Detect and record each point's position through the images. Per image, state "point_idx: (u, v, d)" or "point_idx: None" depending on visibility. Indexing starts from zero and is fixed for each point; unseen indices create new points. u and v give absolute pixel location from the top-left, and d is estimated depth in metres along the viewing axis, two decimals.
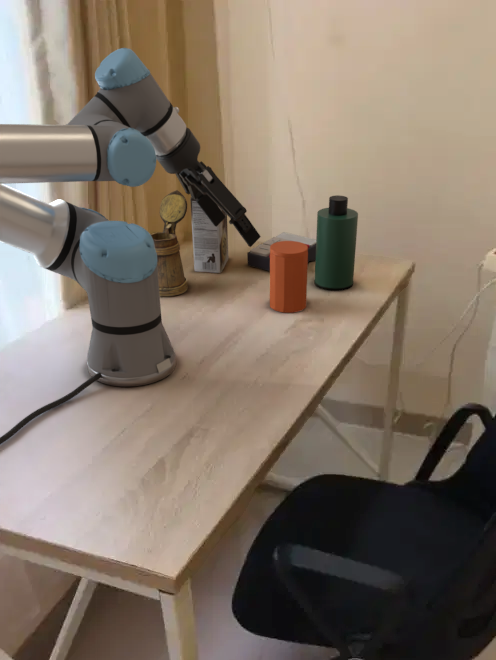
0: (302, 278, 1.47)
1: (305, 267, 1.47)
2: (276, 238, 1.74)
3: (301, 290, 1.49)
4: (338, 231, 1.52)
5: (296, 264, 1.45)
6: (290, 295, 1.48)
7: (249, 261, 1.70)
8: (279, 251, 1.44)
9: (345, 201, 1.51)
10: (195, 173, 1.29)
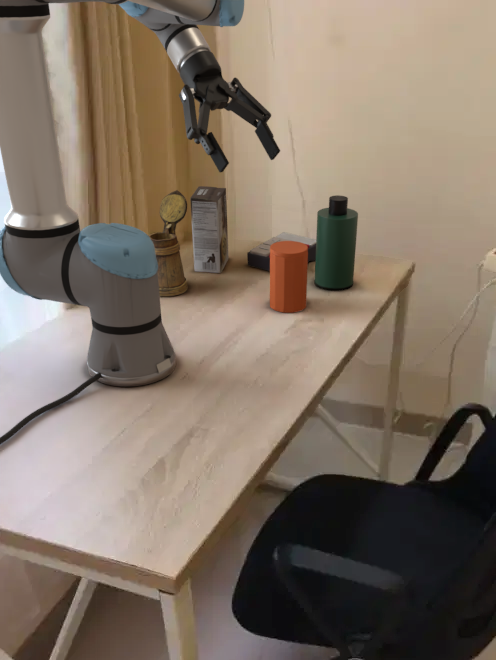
0: (302, 278, 1.47)
1: (305, 267, 1.47)
2: (276, 238, 1.74)
3: (301, 290, 1.49)
4: (338, 231, 1.52)
5: (296, 264, 1.45)
6: (290, 295, 1.48)
7: (249, 261, 1.70)
8: (279, 251, 1.44)
9: (345, 201, 1.51)
10: (226, 82, 1.44)
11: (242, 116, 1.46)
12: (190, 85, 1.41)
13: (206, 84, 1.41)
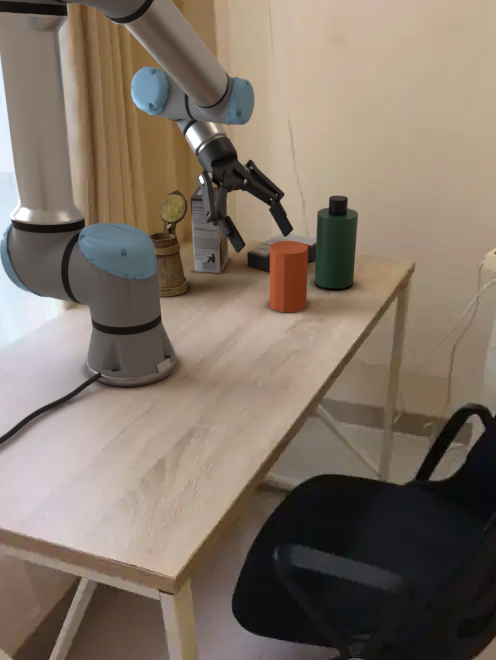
0: (302, 278, 1.47)
1: (305, 267, 1.47)
2: (276, 238, 1.74)
3: (301, 290, 1.49)
4: (338, 231, 1.52)
5: (296, 264, 1.45)
6: (290, 295, 1.48)
7: (249, 261, 1.70)
8: (279, 251, 1.44)
9: (345, 201, 1.51)
10: (241, 164, 1.51)
11: (257, 196, 1.53)
12: (208, 169, 1.47)
13: (223, 168, 1.48)
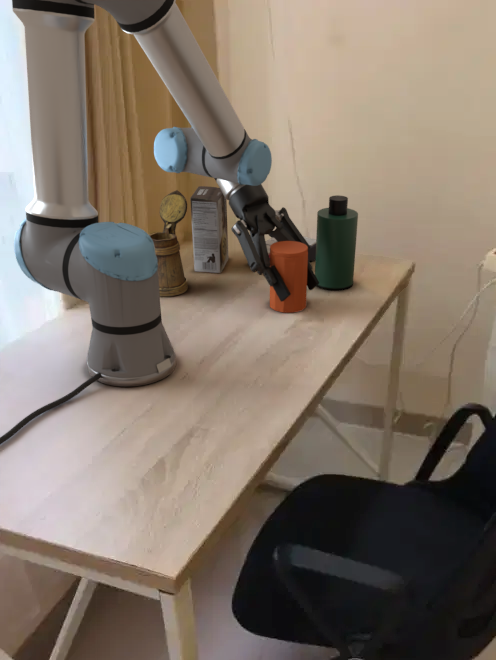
0: (302, 278, 1.47)
1: (305, 267, 1.47)
2: None
3: (301, 290, 1.49)
4: (338, 231, 1.52)
5: (296, 264, 1.45)
6: (290, 295, 1.48)
7: None
8: (279, 251, 1.44)
9: (345, 201, 1.51)
10: (272, 208, 1.50)
11: None
12: (239, 214, 1.47)
13: (255, 213, 1.47)
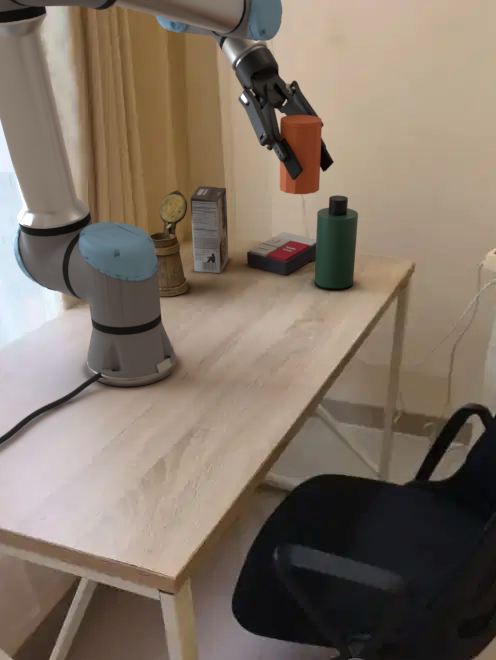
0: (315, 154, 1.35)
1: (318, 141, 1.35)
2: (276, 238, 1.74)
3: (314, 168, 1.37)
4: (338, 231, 1.52)
5: (309, 136, 1.33)
6: (302, 173, 1.36)
7: (249, 261, 1.70)
8: (290, 121, 1.32)
9: (345, 201, 1.51)
10: (283, 80, 1.38)
11: None
12: (247, 83, 1.35)
13: (264, 82, 1.35)
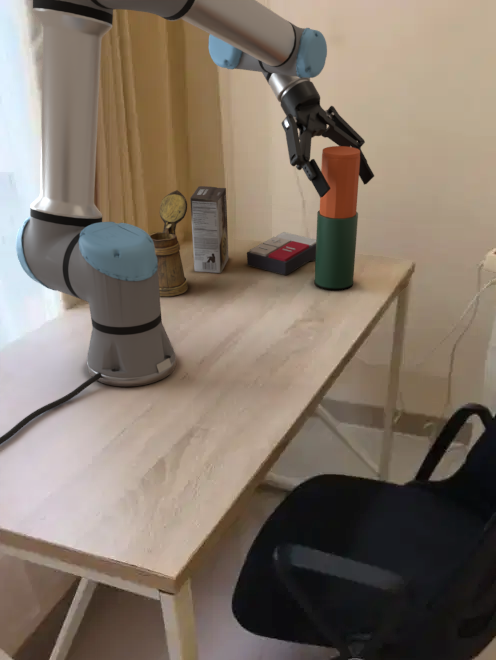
0: (354, 182, 1.48)
1: (357, 171, 1.47)
2: (276, 238, 1.74)
3: (352, 195, 1.49)
4: (338, 231, 1.52)
5: (349, 166, 1.45)
6: (342, 200, 1.49)
7: (249, 261, 1.70)
8: (332, 153, 1.45)
9: None
10: (323, 110, 1.50)
11: (338, 142, 1.52)
12: (291, 113, 1.47)
13: (307, 113, 1.47)
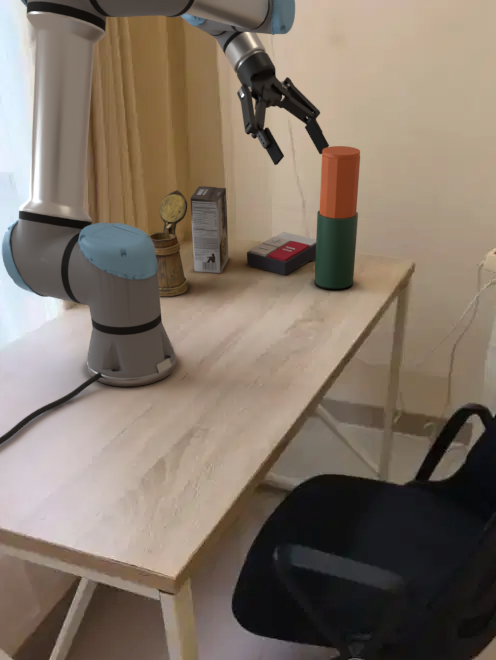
0: (354, 182, 1.48)
1: (357, 171, 1.47)
2: (276, 238, 1.74)
3: (352, 195, 1.49)
4: (338, 231, 1.52)
5: (349, 166, 1.45)
6: (342, 200, 1.49)
7: (249, 261, 1.70)
8: (332, 153, 1.45)
9: None
10: (279, 81, 1.55)
11: (293, 113, 1.57)
12: (247, 84, 1.51)
13: (262, 83, 1.52)
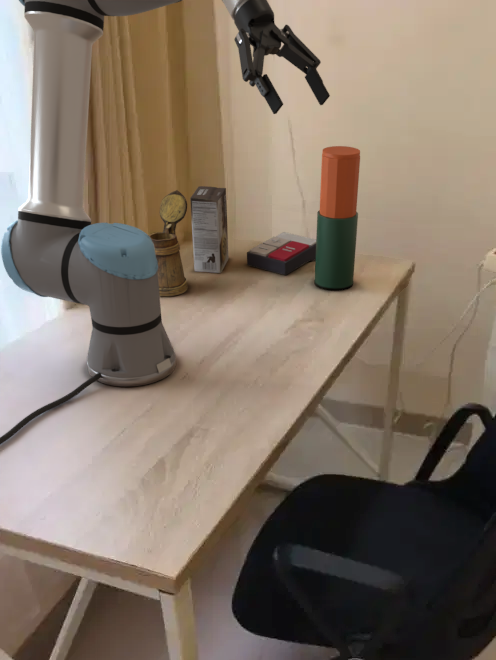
0: (354, 182, 1.48)
1: (357, 171, 1.47)
2: (276, 238, 1.74)
3: (352, 195, 1.49)
4: (338, 231, 1.52)
5: (349, 166, 1.45)
6: (342, 200, 1.49)
7: (248, 261, 1.70)
8: (332, 153, 1.45)
9: None
10: None
11: (293, 62, 1.52)
12: (245, 30, 1.46)
13: (260, 29, 1.46)
